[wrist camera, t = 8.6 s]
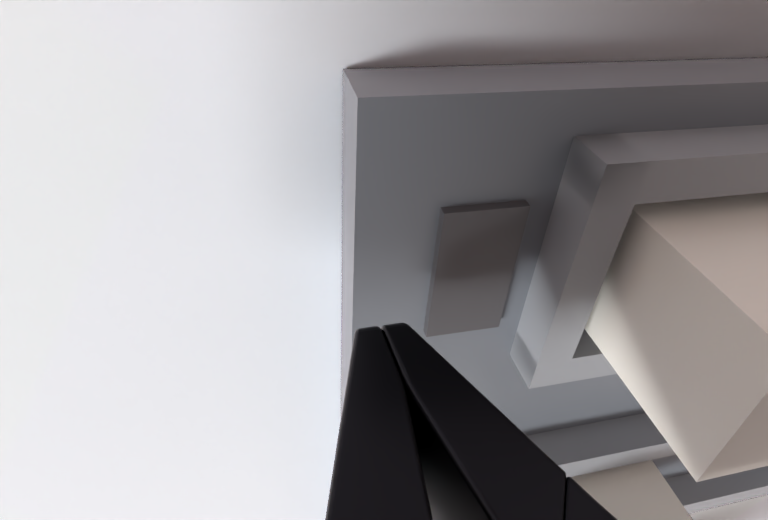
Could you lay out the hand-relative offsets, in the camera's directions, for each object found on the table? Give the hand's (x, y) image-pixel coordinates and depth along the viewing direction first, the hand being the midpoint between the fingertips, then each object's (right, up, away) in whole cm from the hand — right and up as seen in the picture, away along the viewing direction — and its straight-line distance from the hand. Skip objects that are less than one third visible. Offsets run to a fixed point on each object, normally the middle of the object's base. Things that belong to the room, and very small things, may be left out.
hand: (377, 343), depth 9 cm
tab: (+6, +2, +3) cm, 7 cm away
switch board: (+9, -1, +7) cm, 12 cm away
